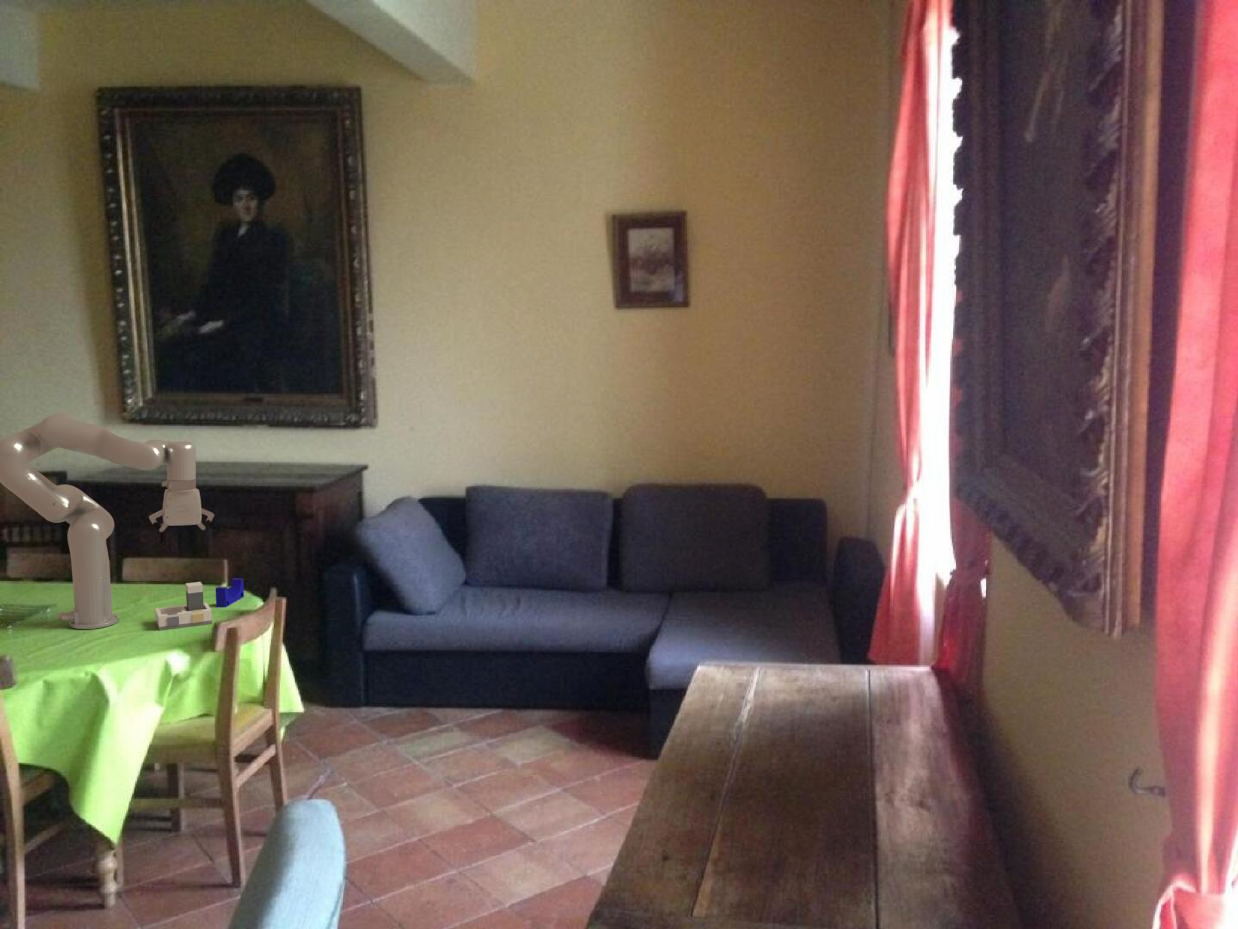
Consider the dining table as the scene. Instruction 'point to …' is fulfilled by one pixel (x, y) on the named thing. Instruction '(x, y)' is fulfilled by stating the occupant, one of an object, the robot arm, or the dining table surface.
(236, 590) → the blue notched block
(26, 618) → the dining table surface
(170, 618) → the socket strip
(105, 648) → the dining table surface
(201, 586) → the plug
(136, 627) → the dining table surface
